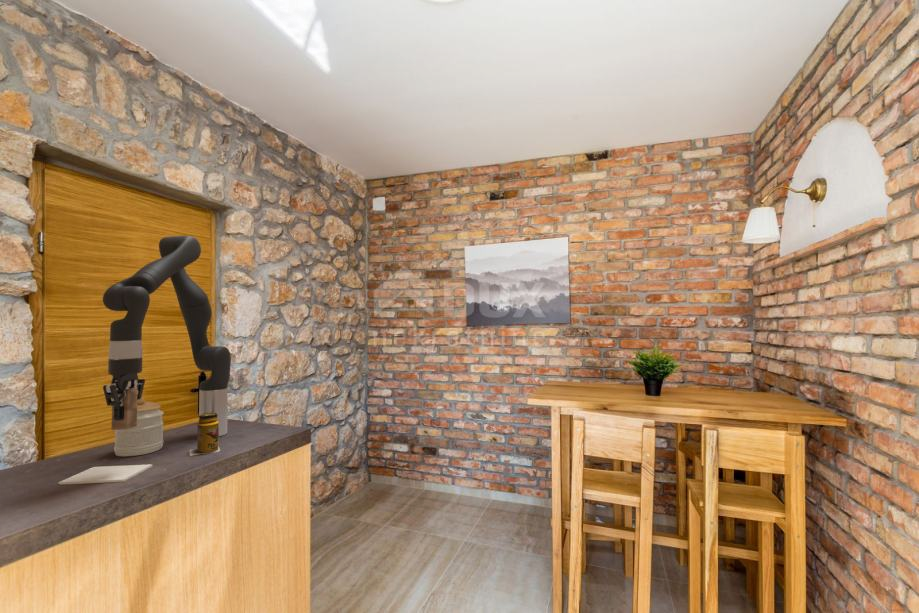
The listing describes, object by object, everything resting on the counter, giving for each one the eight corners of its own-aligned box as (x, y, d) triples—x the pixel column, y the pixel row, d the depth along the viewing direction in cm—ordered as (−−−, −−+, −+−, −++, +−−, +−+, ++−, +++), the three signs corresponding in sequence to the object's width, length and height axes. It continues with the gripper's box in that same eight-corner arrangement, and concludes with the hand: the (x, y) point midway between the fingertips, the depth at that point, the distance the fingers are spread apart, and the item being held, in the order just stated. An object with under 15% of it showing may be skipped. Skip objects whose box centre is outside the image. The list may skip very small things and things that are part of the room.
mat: (93, 468, 123) (93, 466, 123) (152, 466, 124) (152, 464, 124) (58, 484, 111) (58, 482, 111) (123, 481, 112) (124, 479, 112)
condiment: (220, 451, 138) (220, 414, 139) (189, 456, 134) (190, 418, 134) (218, 446, 144) (219, 411, 145) (189, 450, 140) (189, 414, 140)
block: (121, 426, 120) (122, 387, 121) (136, 426, 121) (137, 387, 121) (111, 430, 116) (112, 389, 117) (127, 429, 117) (127, 389, 117)
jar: (103, 455, 135) (104, 400, 136) (144, 444, 148) (145, 393, 148) (133, 458, 132) (134, 401, 132) (172, 447, 144) (173, 394, 145)
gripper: (128, 355, 126) (127, 413, 125) (92, 359, 112) (90, 424, 111) (155, 354, 127) (154, 412, 126) (122, 358, 112) (121, 423, 112)
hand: (124, 417), depth 118 cm, fingers closed on block, 4 cm apart
